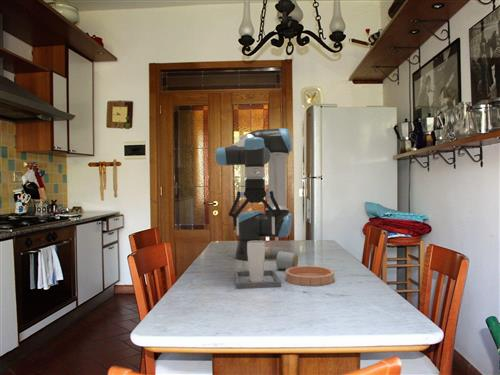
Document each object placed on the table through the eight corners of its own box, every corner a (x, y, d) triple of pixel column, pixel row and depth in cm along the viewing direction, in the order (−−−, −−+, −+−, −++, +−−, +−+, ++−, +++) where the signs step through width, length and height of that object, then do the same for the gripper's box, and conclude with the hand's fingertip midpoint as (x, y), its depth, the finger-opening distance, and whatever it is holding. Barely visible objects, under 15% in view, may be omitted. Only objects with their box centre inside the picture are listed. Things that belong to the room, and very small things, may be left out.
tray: (234, 275, 150) (234, 271, 150) (274, 274, 151) (274, 270, 151) (236, 288, 132) (236, 283, 132) (281, 286, 133) (281, 281, 133)
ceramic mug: (294, 272, 155) (294, 253, 155) (275, 270, 158) (275, 252, 158) (300, 267, 165) (300, 249, 165) (282, 265, 168) (282, 248, 168)
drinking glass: (247, 279, 145) (246, 240, 145) (264, 278, 145) (263, 240, 145) (248, 283, 138) (247, 243, 138) (266, 283, 139) (265, 242, 138)
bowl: (282, 274, 152) (282, 266, 152) (326, 272, 153) (326, 265, 153) (290, 286, 133) (290, 278, 133) (340, 284, 135) (340, 276, 135)
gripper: (221, 178, 137) (222, 236, 137) (289, 177, 138) (289, 234, 138) (221, 179, 144) (222, 233, 144) (285, 178, 146) (286, 232, 146)
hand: (255, 234), depth 141 cm, fingers open, 13 cm apart
